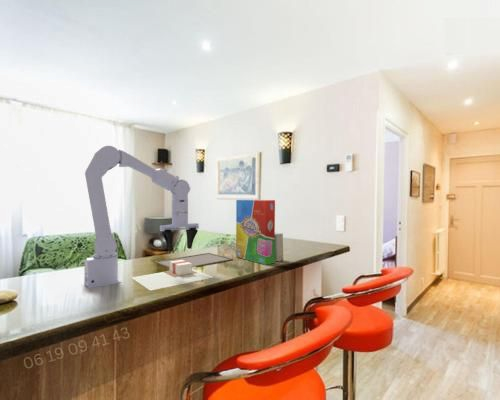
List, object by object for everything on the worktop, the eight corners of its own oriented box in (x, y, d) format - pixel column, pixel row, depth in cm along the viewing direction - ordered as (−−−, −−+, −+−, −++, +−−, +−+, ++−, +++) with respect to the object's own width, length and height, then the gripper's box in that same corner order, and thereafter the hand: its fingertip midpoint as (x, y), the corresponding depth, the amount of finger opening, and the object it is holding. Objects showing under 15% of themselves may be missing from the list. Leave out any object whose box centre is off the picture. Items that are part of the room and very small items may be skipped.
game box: (235, 257, 133) (235, 199, 133) (244, 255, 136) (244, 199, 136) (266, 265, 117) (266, 199, 117) (275, 263, 120) (275, 199, 120)
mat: (150, 291, 83) (150, 290, 83) (130, 278, 97) (130, 277, 97) (213, 278, 97) (213, 276, 97) (188, 268, 111) (188, 267, 111)
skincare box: (283, 260, 125) (283, 233, 125) (276, 262, 123) (276, 234, 123) (273, 258, 130) (273, 232, 130) (266, 259, 127) (266, 232, 127)
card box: (169, 271, 105) (169, 261, 105) (182, 269, 108) (182, 259, 108) (178, 275, 99) (178, 265, 99) (191, 273, 102) (191, 263, 102)
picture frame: (208, 254, 141) (154, 263, 122) (208, 252, 141) (154, 261, 122) (232, 261, 126) (175, 272, 108) (232, 258, 126) (175, 269, 108)
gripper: (165, 213, 96) (165, 253, 96) (202, 212, 105) (202, 248, 105) (157, 212, 101) (157, 250, 101) (193, 211, 110) (193, 246, 110)
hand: (179, 249), depth 103 cm, fingers open, 7 cm apart
